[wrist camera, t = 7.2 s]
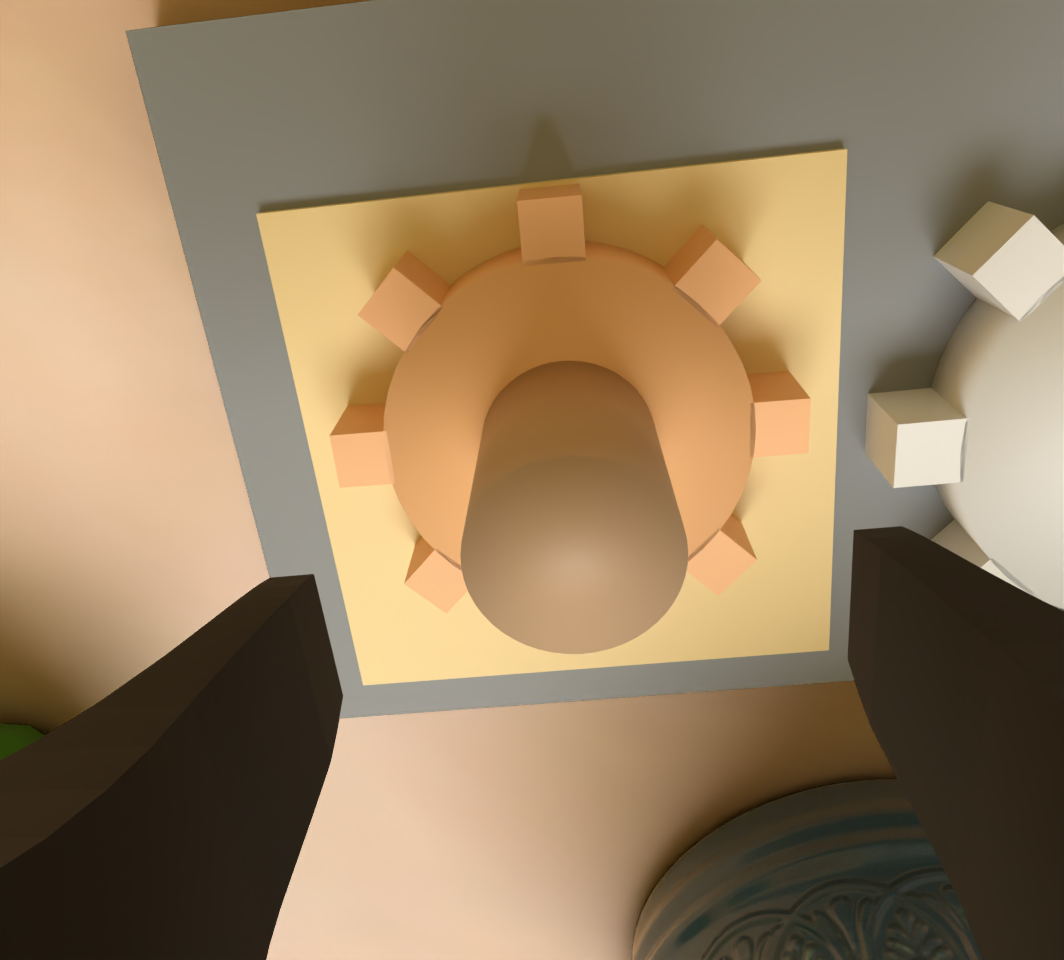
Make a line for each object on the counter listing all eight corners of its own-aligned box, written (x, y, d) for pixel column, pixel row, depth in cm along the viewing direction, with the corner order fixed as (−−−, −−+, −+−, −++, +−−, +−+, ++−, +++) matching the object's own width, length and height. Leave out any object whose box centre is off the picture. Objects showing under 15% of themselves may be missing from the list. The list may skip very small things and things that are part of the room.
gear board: (1503, -133, 14) (2065, -251, 9) (1288, 614, 20) (1553, 810, 15) (155, 33, 16) (-48, 16, 10) (320, 687, 21) (244, 890, 16)
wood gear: (795, 163, 15) (918, 212, 10) (782, 586, 18) (869, 781, 13) (310, 208, 15) (194, 275, 10) (385, 612, 19) (325, 810, 14)
